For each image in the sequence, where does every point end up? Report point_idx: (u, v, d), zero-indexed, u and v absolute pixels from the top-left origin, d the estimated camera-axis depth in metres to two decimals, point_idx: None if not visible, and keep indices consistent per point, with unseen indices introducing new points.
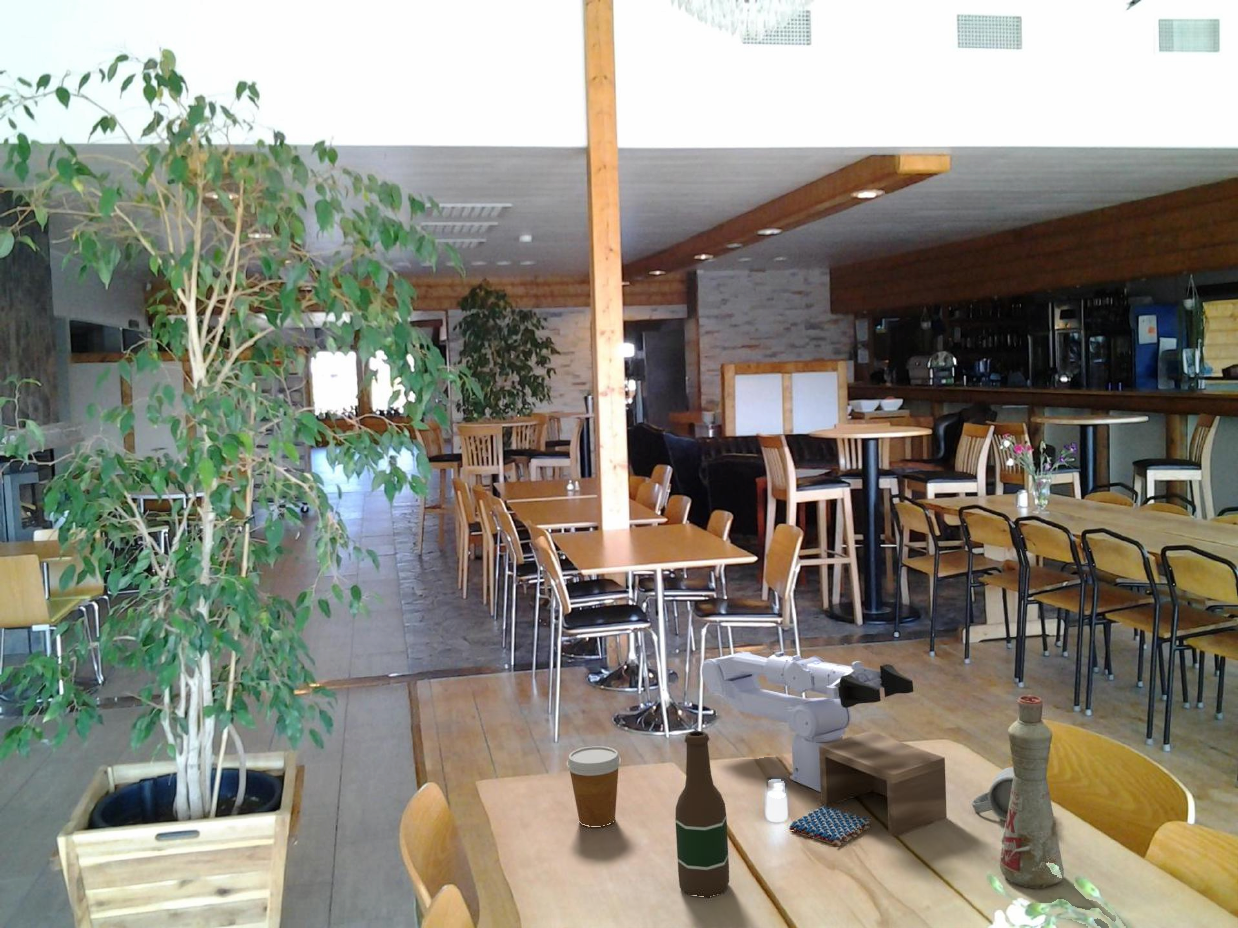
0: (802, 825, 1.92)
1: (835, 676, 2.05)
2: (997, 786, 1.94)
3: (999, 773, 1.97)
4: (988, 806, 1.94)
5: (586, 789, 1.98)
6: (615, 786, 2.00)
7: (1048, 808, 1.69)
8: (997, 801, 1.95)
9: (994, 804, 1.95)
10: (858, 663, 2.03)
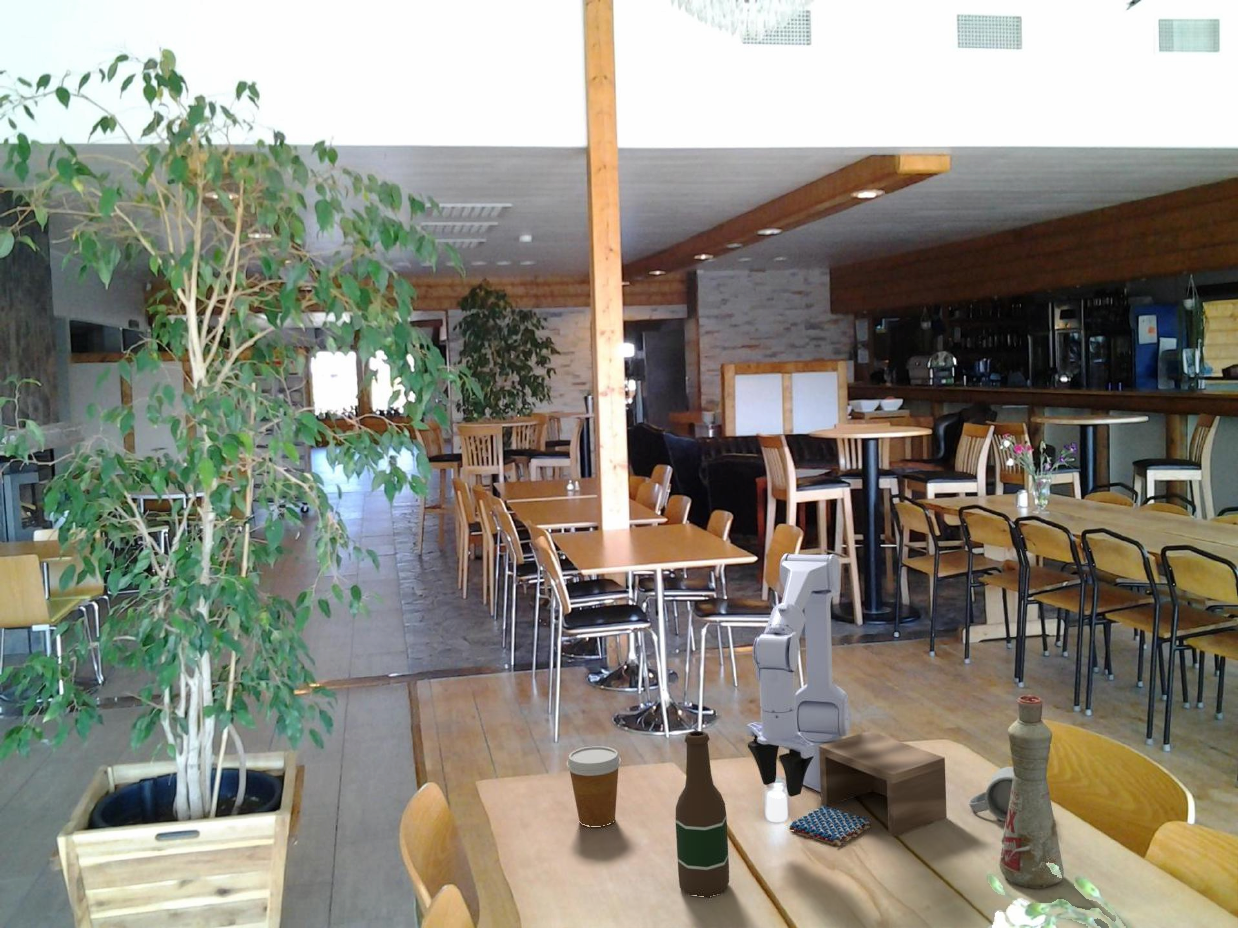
0: (802, 825, 1.92)
1: None
2: (994, 786, 1.95)
3: (996, 773, 1.97)
4: (985, 806, 1.94)
5: (586, 789, 1.98)
6: (615, 786, 2.00)
7: (1048, 807, 1.69)
8: (994, 801, 1.95)
9: (991, 804, 1.95)
10: None
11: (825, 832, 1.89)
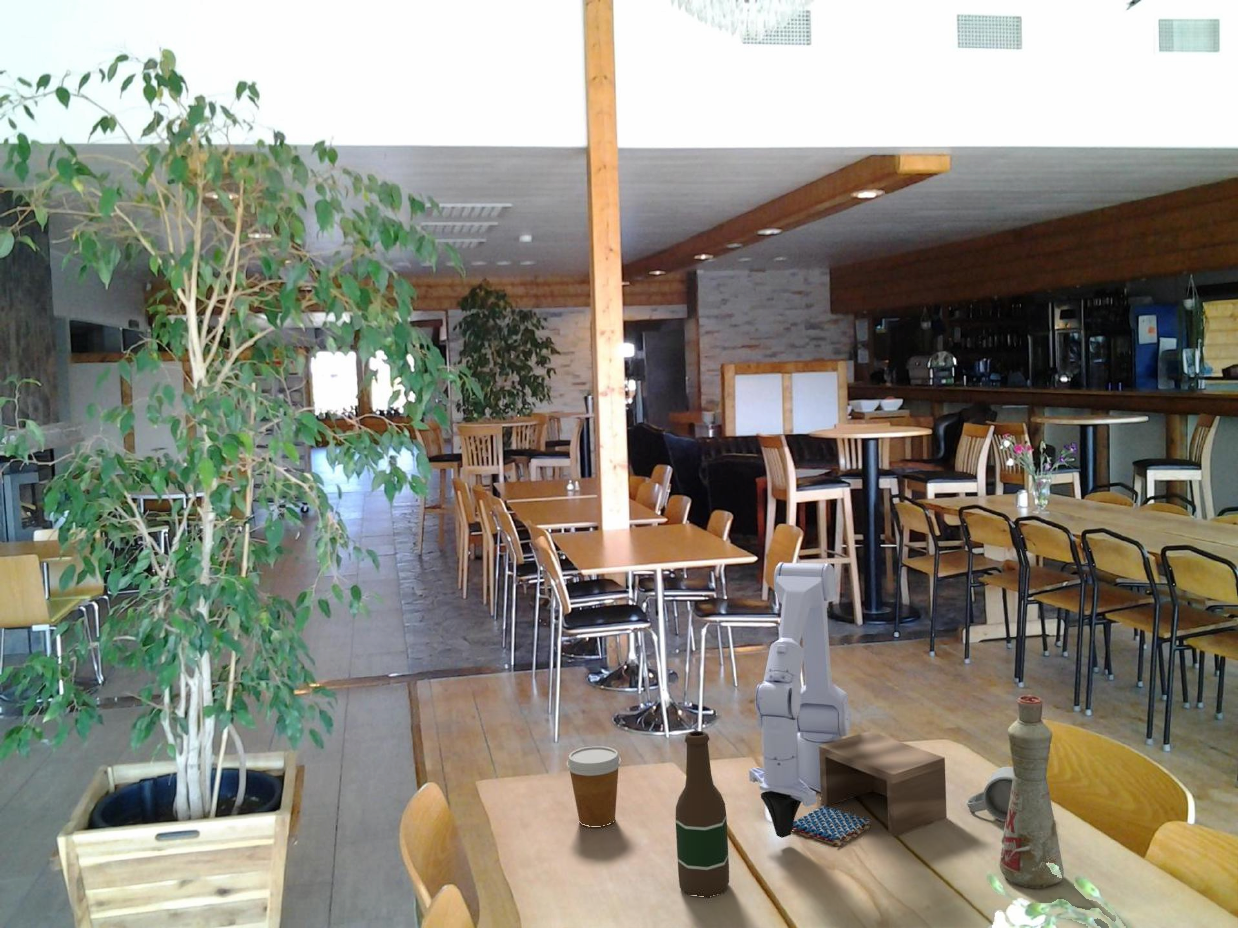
0: (802, 825, 1.92)
1: None
2: (992, 786, 1.95)
3: (994, 773, 1.97)
4: (983, 806, 1.94)
5: (586, 789, 1.98)
6: (615, 786, 2.00)
7: (1048, 807, 1.69)
8: (992, 801, 1.95)
9: (989, 804, 1.95)
10: None
11: (825, 832, 1.89)
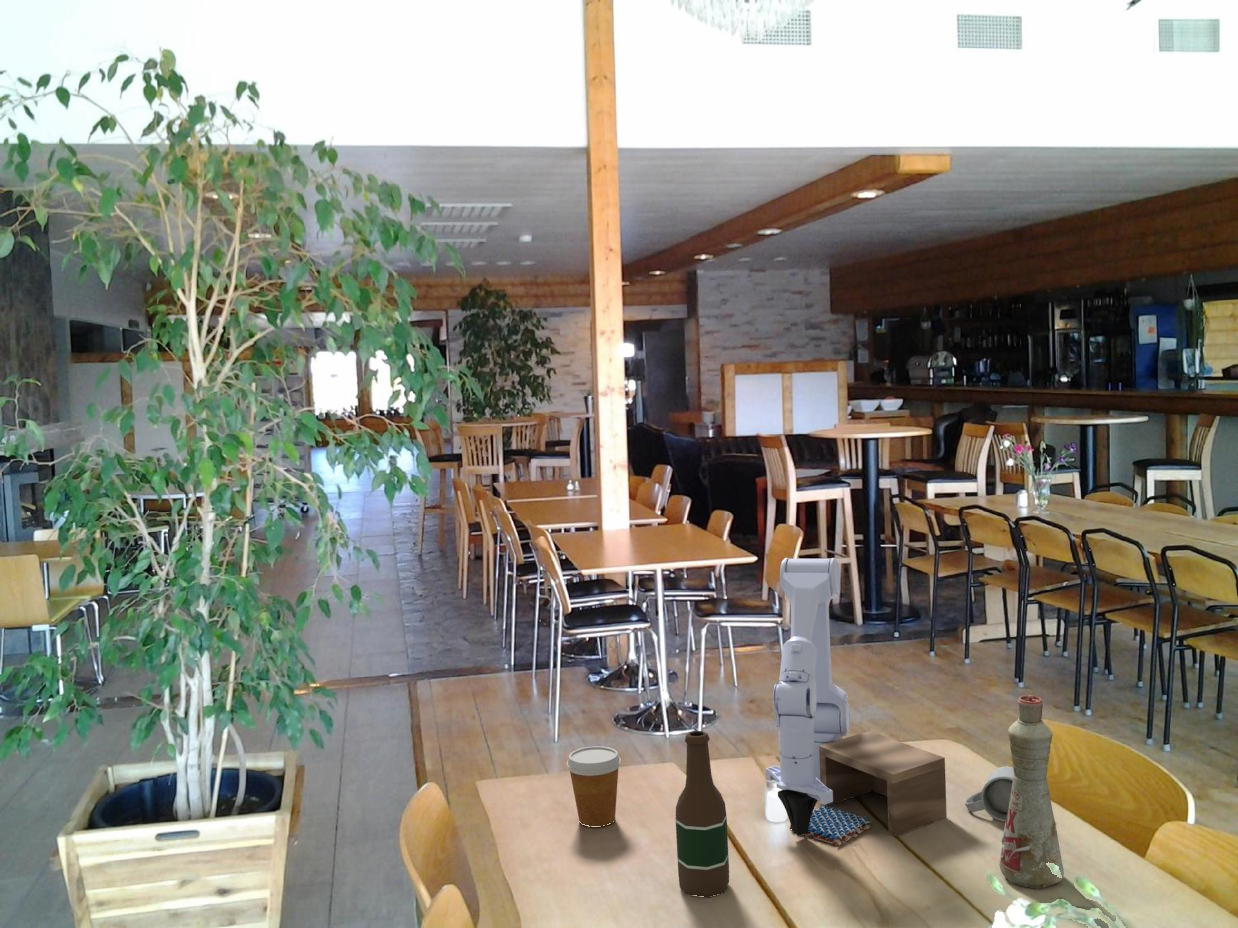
0: None
1: None
2: (990, 785, 1.95)
3: (992, 772, 1.97)
4: (981, 806, 1.95)
5: (586, 789, 1.98)
6: (615, 786, 2.00)
7: (1048, 808, 1.69)
8: (990, 800, 1.96)
9: (987, 803, 1.95)
10: None
11: (825, 831, 1.89)
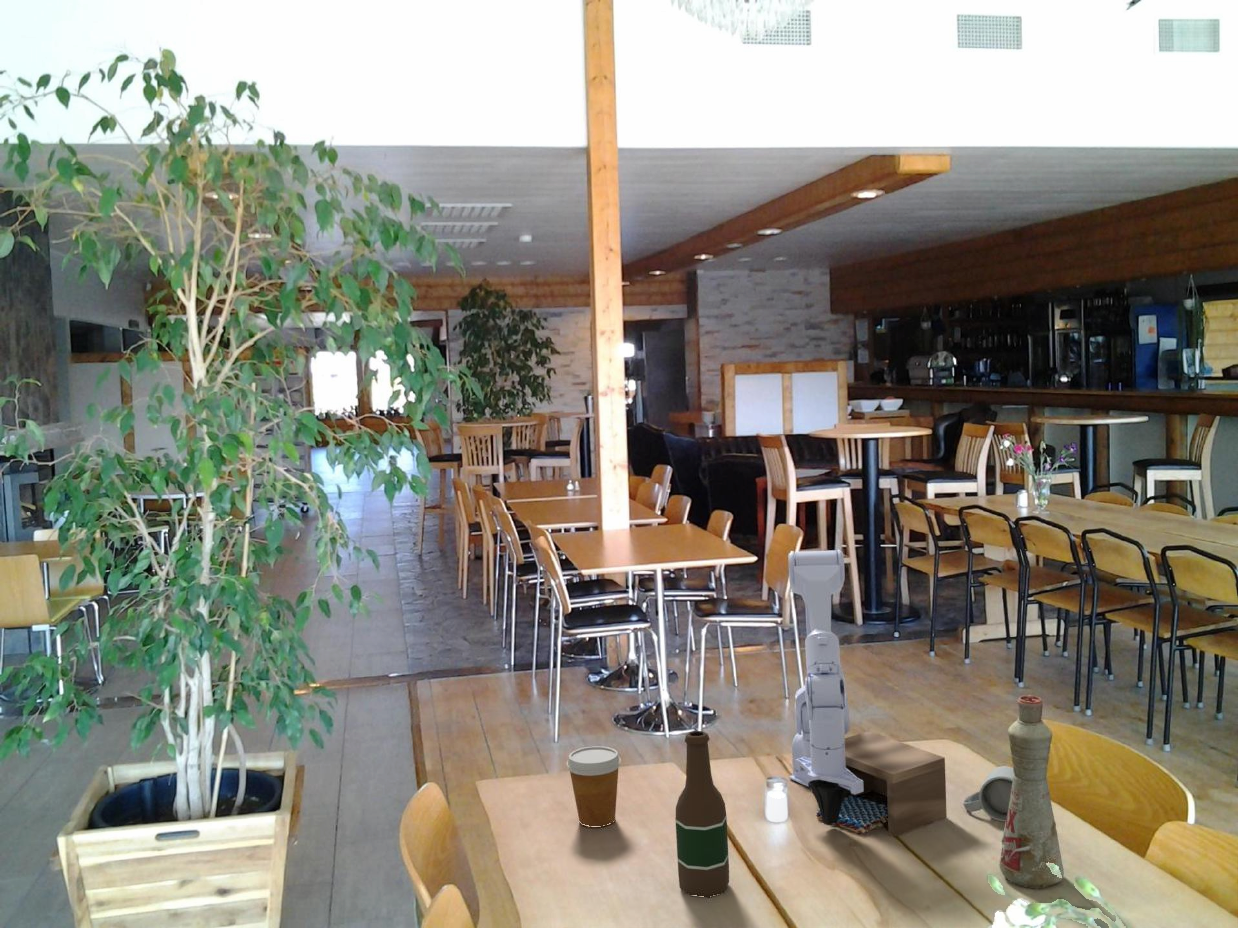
0: None
1: None
2: (988, 785, 1.95)
3: (990, 772, 1.97)
4: (979, 806, 1.95)
5: (586, 789, 1.98)
6: (615, 786, 2.00)
7: (1048, 808, 1.69)
8: (988, 800, 1.96)
9: (985, 803, 1.95)
10: None
11: (850, 820, 1.93)
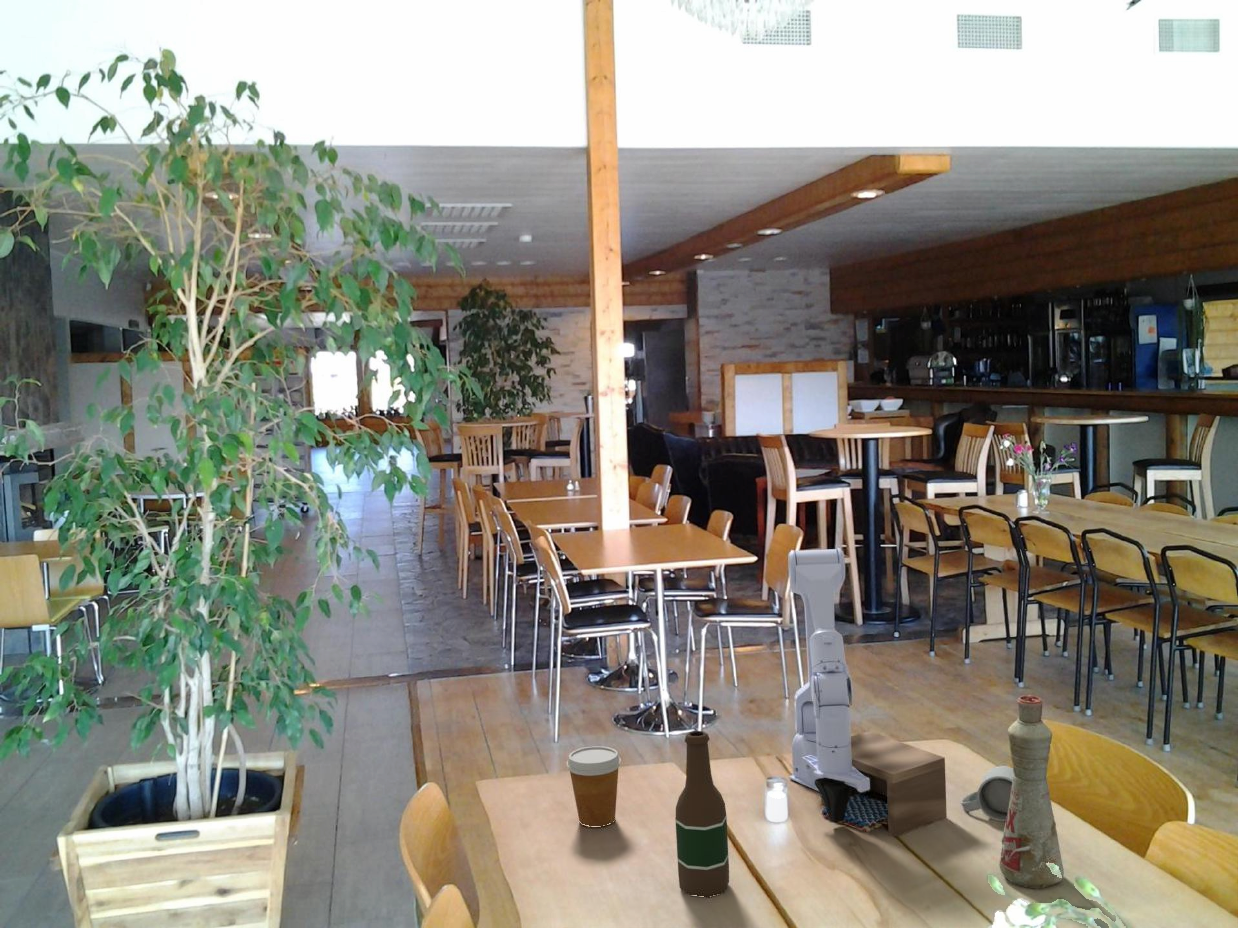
0: None
1: None
2: (986, 785, 1.95)
3: (988, 772, 1.98)
4: (977, 805, 1.95)
5: (586, 789, 1.98)
6: (615, 786, 2.00)
7: (1048, 807, 1.69)
8: (986, 800, 1.96)
9: (983, 803, 1.96)
10: None
11: (855, 818, 1.94)
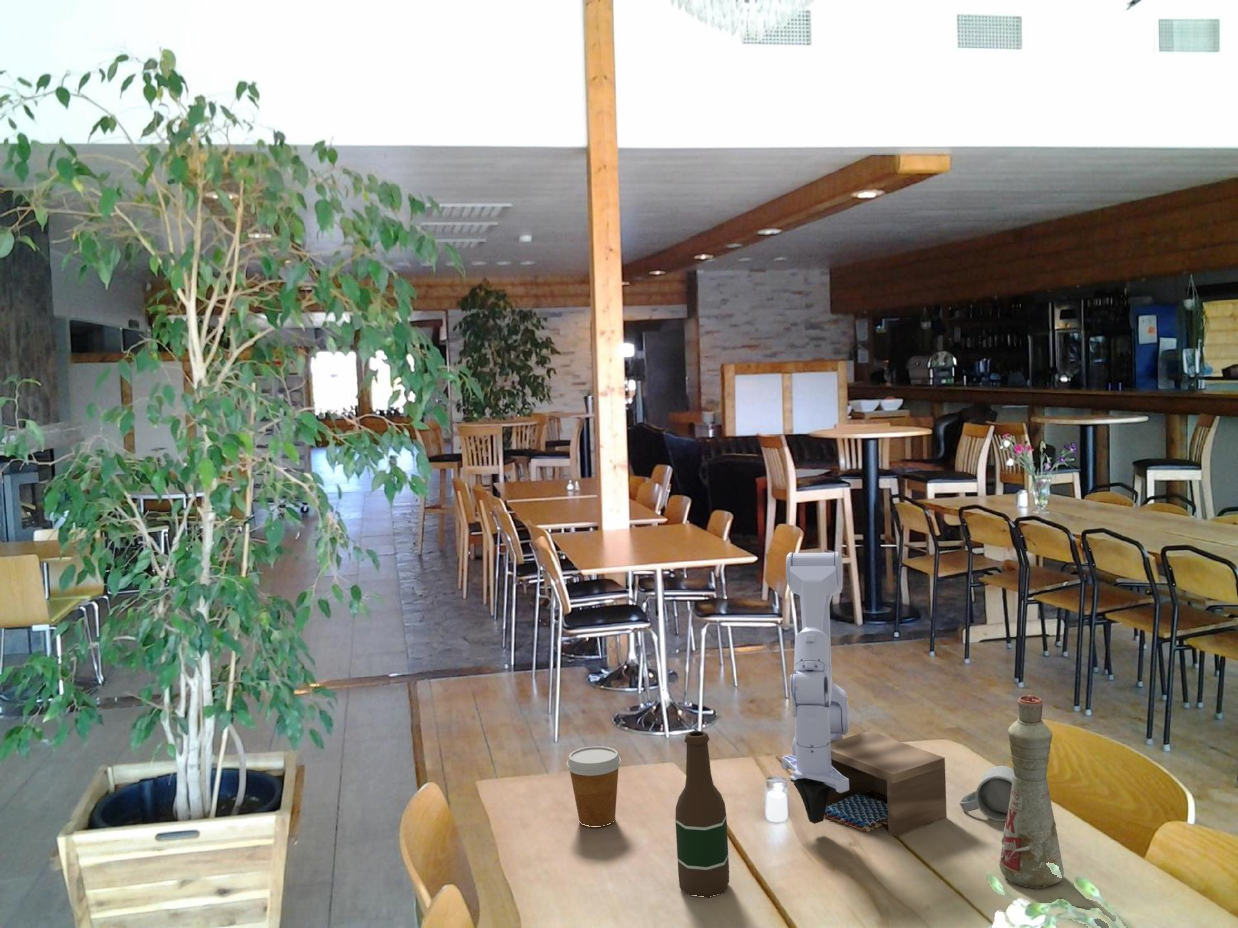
0: (834, 811, 1.98)
1: None
2: (985, 785, 1.95)
3: (987, 772, 1.98)
4: (975, 805, 1.95)
5: (586, 789, 1.98)
6: (615, 786, 2.00)
7: (1048, 808, 1.69)
8: (985, 800, 1.96)
9: (982, 803, 1.96)
10: None
11: (855, 818, 1.94)
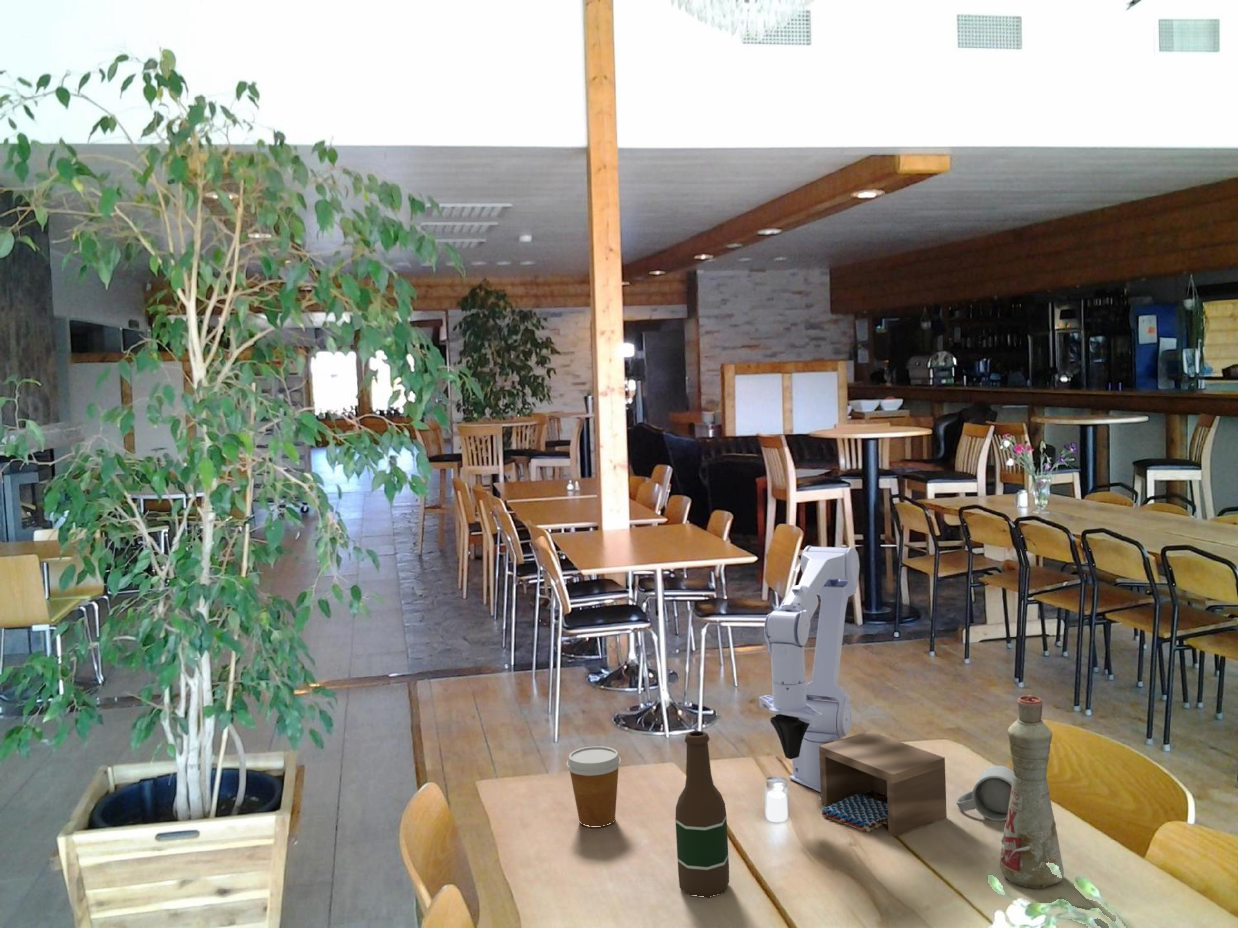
0: (834, 811, 1.98)
1: None
2: (981, 785, 1.95)
3: (984, 772, 1.98)
4: (972, 805, 1.95)
5: (586, 789, 1.98)
6: (615, 786, 2.00)
7: (1048, 807, 1.69)
8: (981, 799, 1.96)
9: (978, 802, 1.96)
10: None
11: (855, 818, 1.94)
